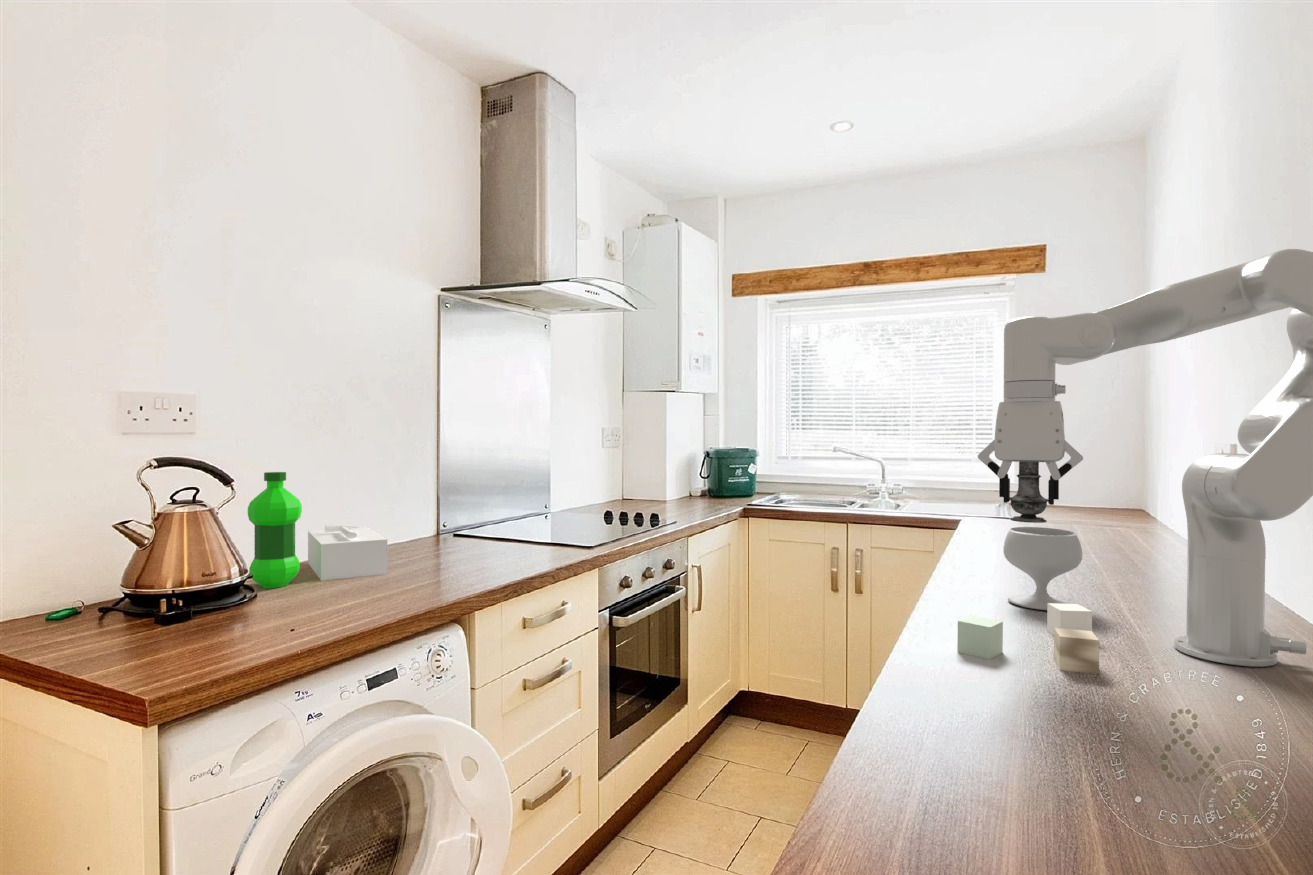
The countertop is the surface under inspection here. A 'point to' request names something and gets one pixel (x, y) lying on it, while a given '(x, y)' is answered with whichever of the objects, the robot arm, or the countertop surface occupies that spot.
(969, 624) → the sage painted cube
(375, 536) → the tissue box
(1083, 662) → the beech cube
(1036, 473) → the salt shaker
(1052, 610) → the cream painted cube
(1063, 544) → the chalice
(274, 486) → the plastic bottle
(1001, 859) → the countertop surface
